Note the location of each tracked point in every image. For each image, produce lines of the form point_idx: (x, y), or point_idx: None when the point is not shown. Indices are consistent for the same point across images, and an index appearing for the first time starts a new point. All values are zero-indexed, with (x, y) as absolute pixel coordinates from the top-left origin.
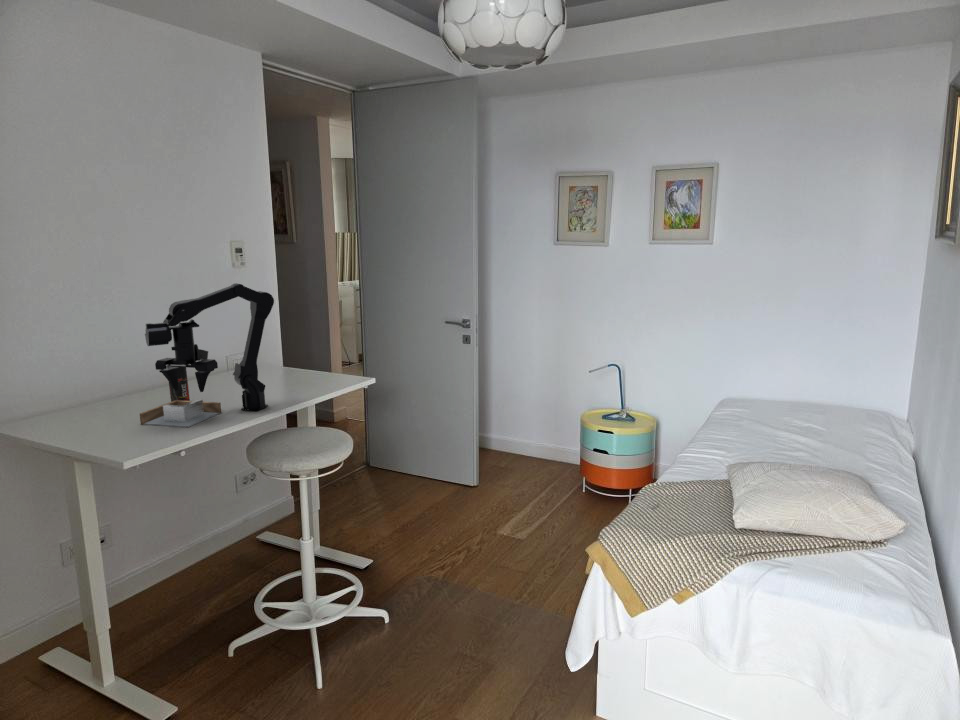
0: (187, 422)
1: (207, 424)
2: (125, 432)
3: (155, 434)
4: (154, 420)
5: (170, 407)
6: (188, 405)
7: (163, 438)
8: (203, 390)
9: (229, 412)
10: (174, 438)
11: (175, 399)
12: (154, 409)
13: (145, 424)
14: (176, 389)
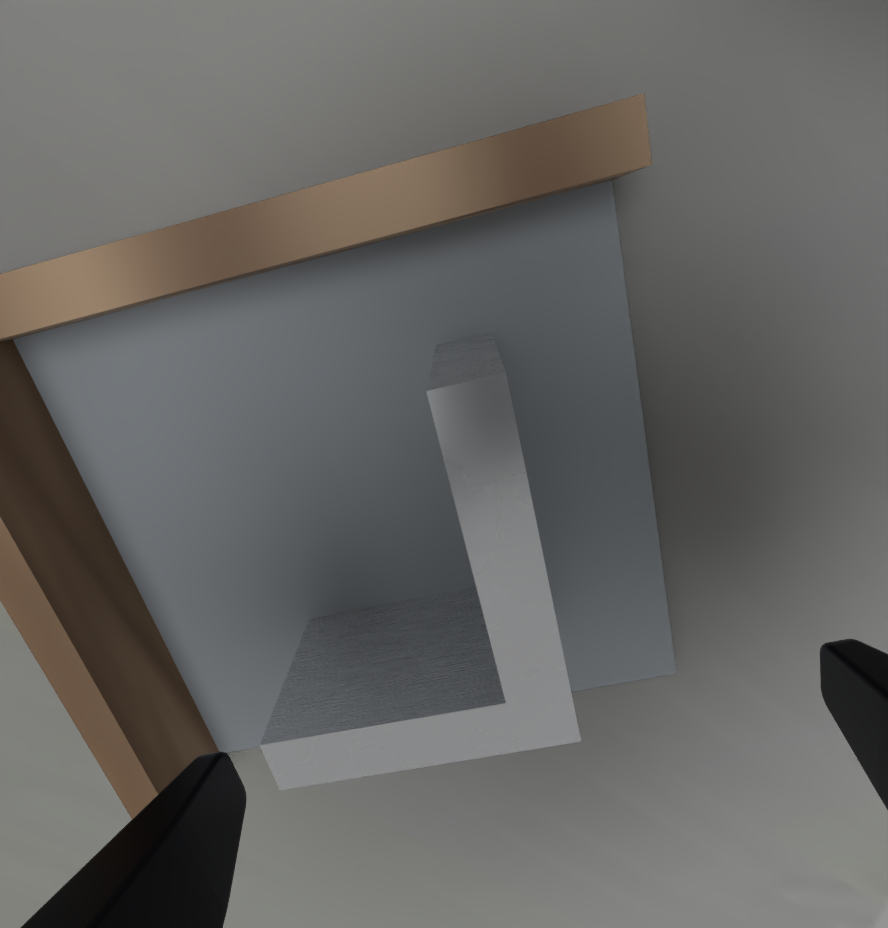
0: (572, 605)
1: (785, 539)
2: (301, 886)
3: (558, 847)
4: (213, 676)
5: (389, 759)
6: (563, 657)
7: (699, 877)
8: (873, 655)
9: (695, 53)
10: (782, 854)
11: None
12: (112, 710)
13: (236, 743)
14: (232, 808)
